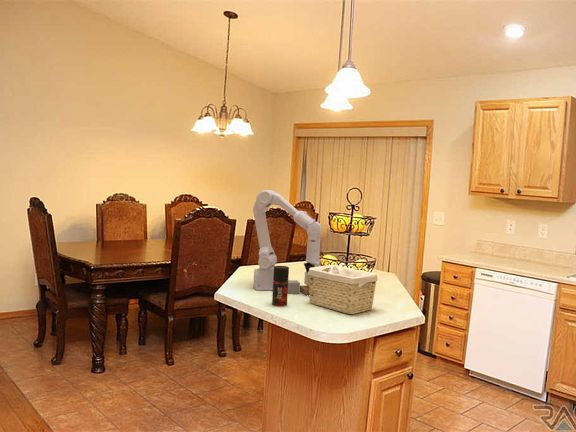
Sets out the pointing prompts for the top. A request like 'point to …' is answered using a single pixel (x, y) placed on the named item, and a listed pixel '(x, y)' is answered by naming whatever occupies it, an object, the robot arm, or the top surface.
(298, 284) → the slate cube
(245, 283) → the top surface
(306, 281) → the beige cube
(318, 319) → the top surface
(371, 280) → the storage basket
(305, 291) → the walnut slab
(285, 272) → the deodorant
